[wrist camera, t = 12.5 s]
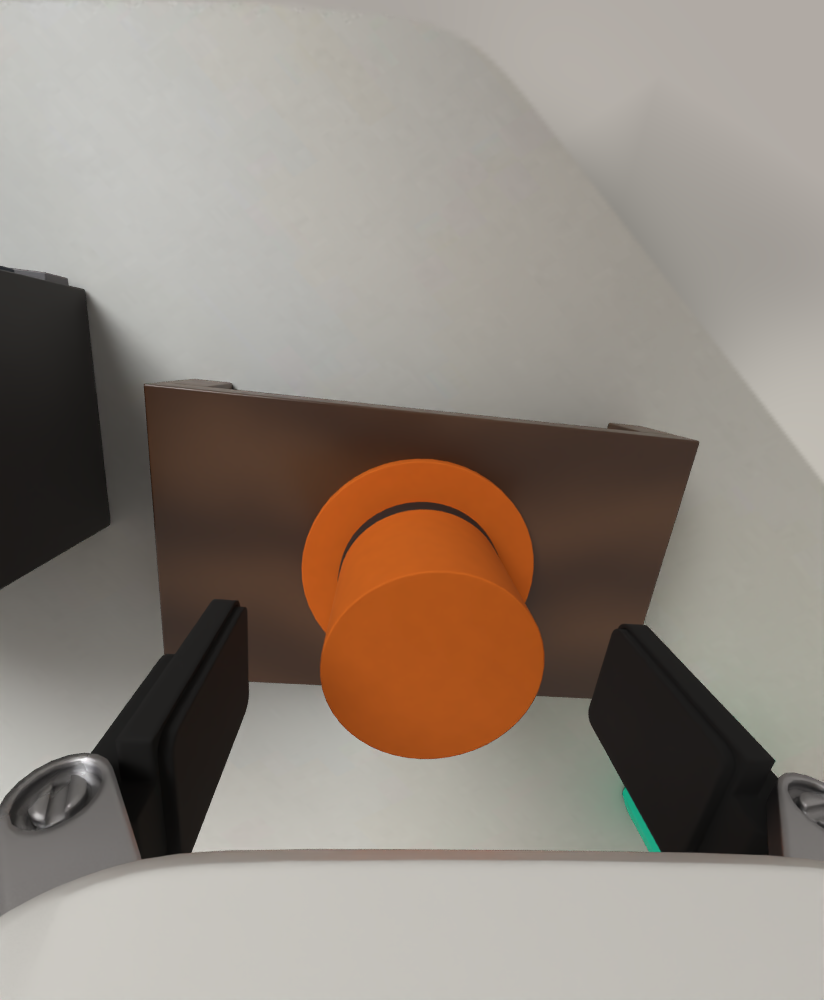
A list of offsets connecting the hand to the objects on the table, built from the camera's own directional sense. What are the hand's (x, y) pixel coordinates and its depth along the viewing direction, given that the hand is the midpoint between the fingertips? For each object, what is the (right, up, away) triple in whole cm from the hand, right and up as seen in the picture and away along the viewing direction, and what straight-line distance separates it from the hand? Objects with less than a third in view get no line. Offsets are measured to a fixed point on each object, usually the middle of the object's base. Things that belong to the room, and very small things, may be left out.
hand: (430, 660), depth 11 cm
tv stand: (0, +3, +10) cm, 10 cm away
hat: (0, +1, +6) cm, 6 cm away
